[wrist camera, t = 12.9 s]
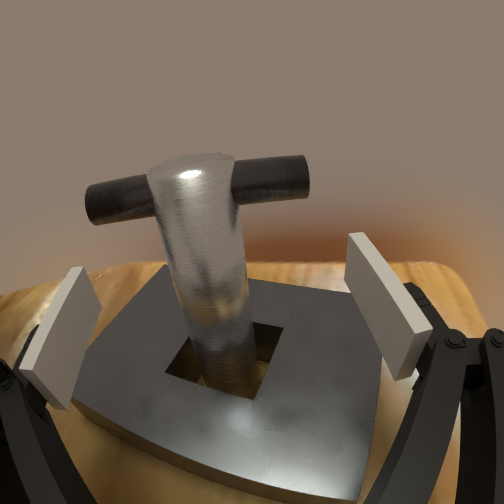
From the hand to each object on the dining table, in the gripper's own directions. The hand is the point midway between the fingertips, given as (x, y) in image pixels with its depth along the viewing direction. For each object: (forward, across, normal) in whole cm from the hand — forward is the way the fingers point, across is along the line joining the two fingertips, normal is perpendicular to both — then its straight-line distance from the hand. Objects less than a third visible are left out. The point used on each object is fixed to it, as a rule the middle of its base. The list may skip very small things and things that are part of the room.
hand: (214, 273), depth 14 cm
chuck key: (0, 0, -10) cm, 10 cm away
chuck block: (0, 0, -10) cm, 10 cm away
